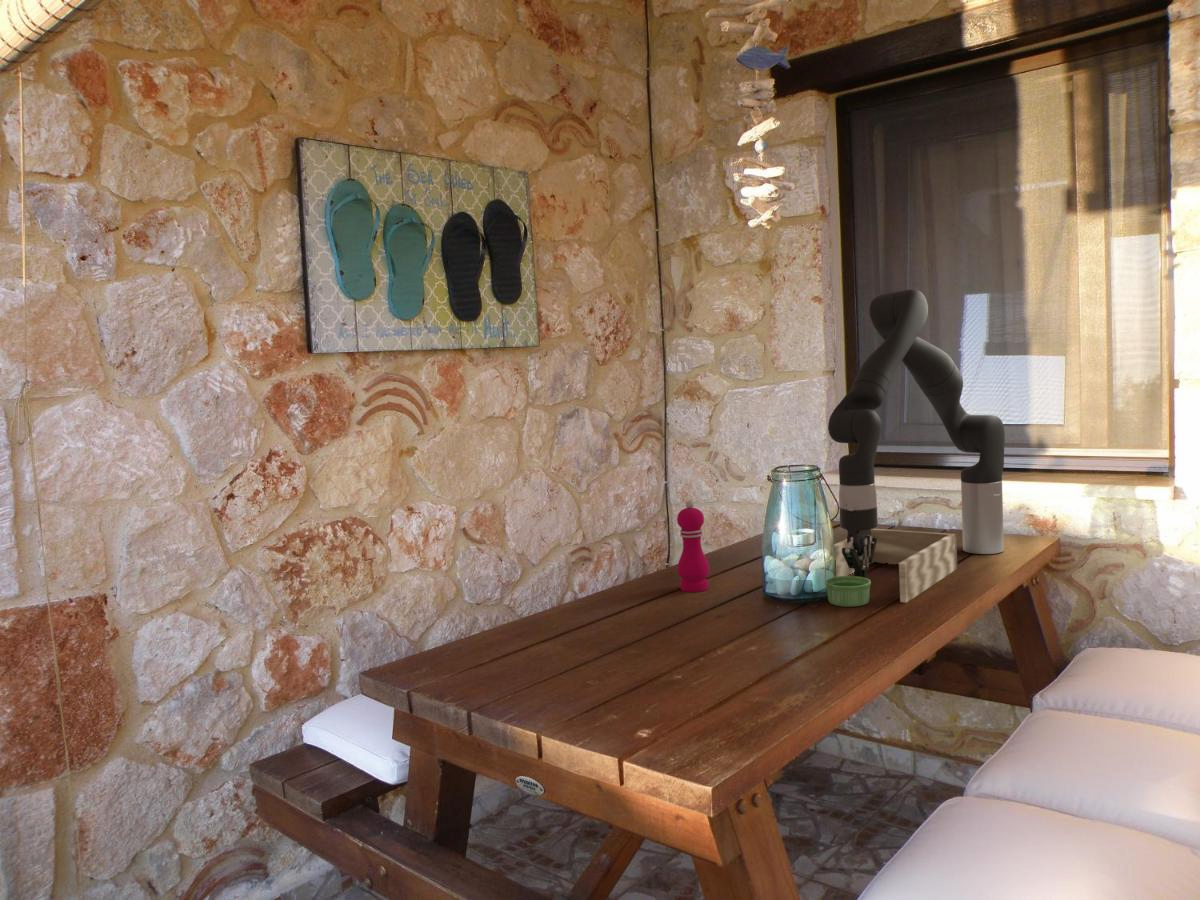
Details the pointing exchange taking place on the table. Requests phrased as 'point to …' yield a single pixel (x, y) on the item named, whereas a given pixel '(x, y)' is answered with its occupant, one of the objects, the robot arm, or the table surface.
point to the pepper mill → (692, 551)
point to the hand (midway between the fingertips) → (861, 586)
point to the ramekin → (848, 590)
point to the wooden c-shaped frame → (909, 558)
